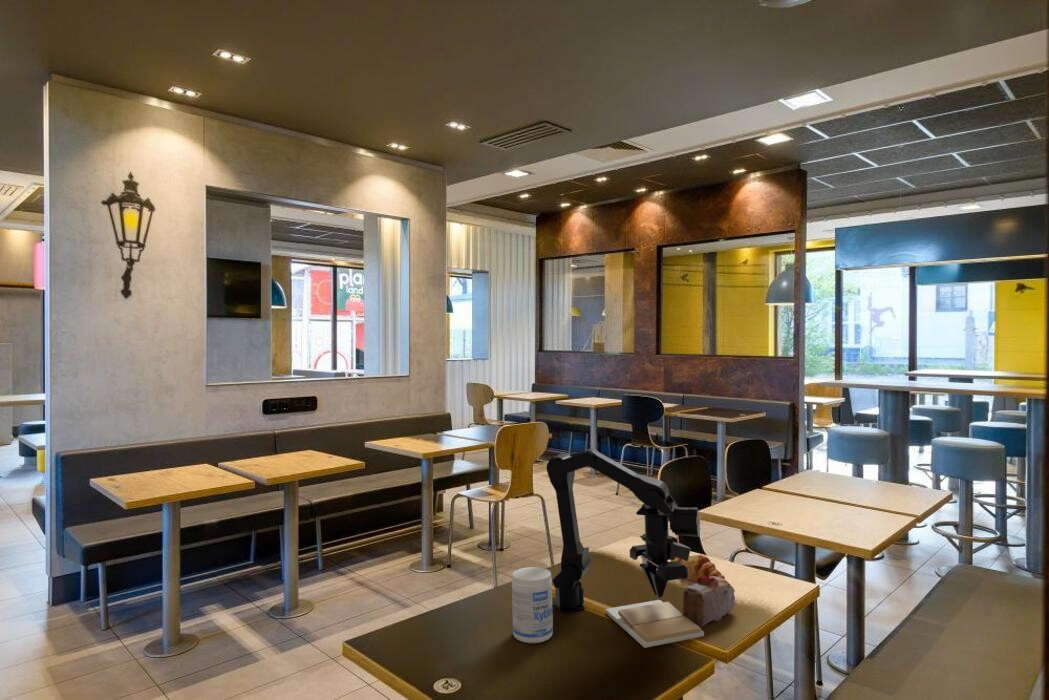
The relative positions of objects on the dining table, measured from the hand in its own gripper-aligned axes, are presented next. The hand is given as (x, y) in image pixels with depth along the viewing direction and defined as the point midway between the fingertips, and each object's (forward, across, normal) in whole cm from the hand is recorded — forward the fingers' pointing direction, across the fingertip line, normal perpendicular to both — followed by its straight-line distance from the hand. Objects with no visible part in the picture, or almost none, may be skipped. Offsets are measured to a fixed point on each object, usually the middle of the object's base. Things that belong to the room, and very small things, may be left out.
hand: (658, 595), depth 156 cm
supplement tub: (+6, +3, +32) cm, 33 cm away
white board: (+6, -2, +3) cm, 7 cm away
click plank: (+4, -1, +3) cm, 5 cm away
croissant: (+6, +21, -25) cm, 33 cm away
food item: (+6, -3, -12) cm, 14 cm away
